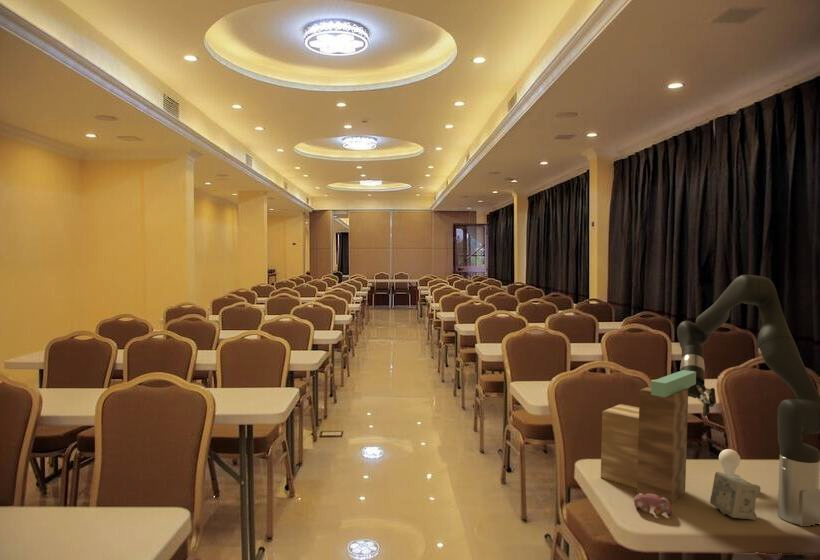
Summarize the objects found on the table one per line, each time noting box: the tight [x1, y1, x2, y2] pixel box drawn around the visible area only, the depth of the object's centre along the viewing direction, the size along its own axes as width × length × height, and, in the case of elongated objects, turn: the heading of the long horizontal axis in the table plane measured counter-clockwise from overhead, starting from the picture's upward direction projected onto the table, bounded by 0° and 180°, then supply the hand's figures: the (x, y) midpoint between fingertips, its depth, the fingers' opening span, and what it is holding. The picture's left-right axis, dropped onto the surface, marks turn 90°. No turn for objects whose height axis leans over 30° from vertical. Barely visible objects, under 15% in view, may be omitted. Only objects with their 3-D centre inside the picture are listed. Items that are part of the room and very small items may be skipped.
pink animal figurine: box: [633, 493, 673, 516], centre depth 164 cm, size 10×5×7 cm, turn 62°
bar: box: [650, 370, 696, 397], centre depth 178 cm, size 26×4×4 cm, turn 136°
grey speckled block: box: [709, 471, 761, 521], centre depth 164 cm, size 10×8×10 cm
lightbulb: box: [718, 448, 741, 474], centre depth 187 cm, size 6×6×11 cm
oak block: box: [600, 403, 639, 489], centre depth 191 cm, size 14×12×22 cm
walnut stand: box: [636, 385, 689, 505], centre depth 177 cm, size 12×10×32 cm
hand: (691, 411), depth 191 cm, fingers open, 8 cm apart
